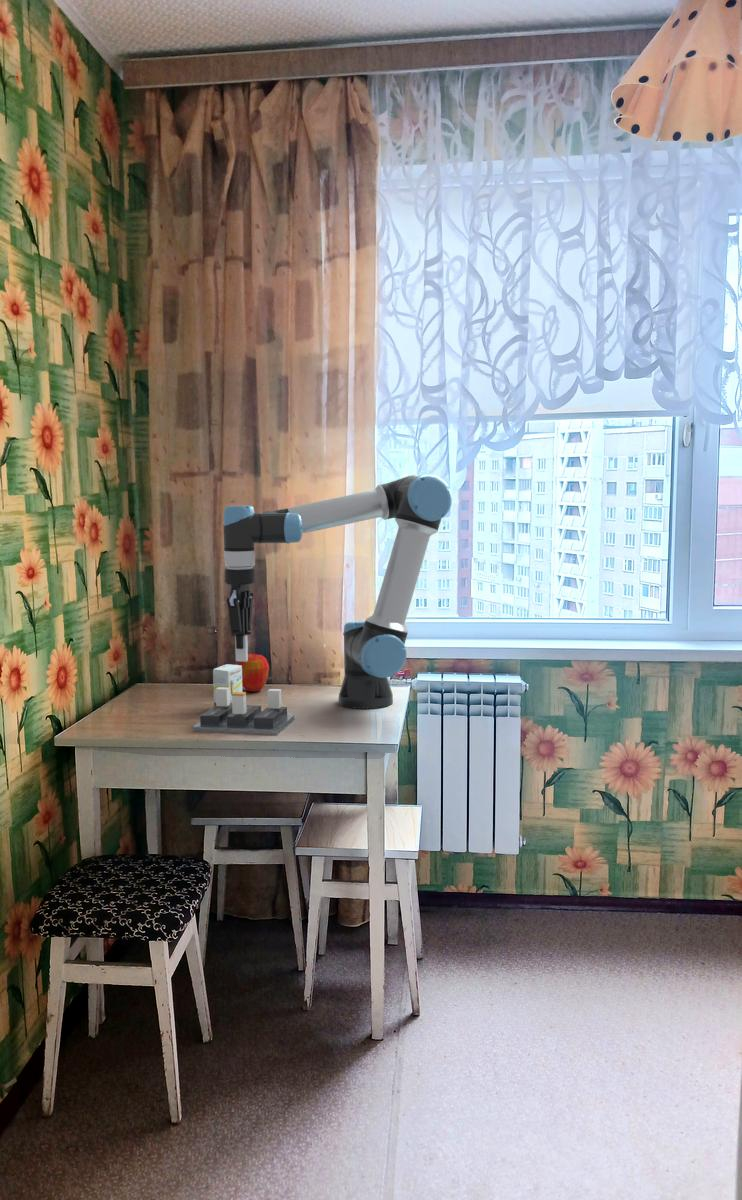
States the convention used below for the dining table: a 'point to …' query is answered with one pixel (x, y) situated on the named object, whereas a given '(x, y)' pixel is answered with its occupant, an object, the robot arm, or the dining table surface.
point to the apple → (254, 672)
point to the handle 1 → (222, 696)
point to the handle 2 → (274, 698)
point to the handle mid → (239, 703)
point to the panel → (245, 729)
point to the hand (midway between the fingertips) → (241, 660)
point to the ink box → (227, 679)
